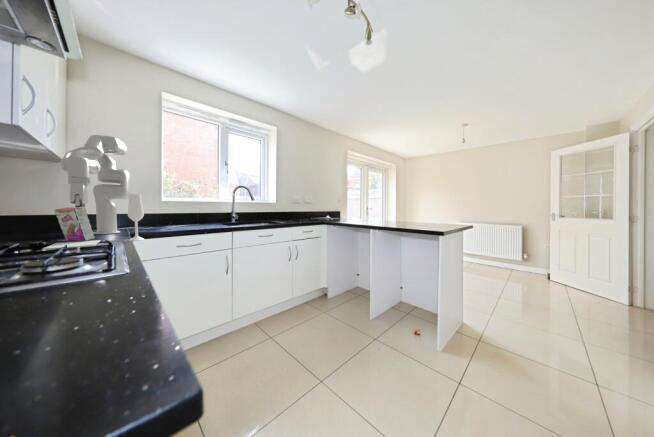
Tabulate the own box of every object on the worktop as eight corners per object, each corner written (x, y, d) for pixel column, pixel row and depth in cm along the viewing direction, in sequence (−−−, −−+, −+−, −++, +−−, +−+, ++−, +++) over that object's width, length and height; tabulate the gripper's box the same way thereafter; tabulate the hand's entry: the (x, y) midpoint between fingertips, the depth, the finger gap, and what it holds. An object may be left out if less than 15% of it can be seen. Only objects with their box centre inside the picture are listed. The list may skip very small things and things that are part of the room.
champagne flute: (126, 240, 120) (124, 194, 118) (131, 239, 126) (129, 194, 125) (142, 240, 122) (140, 194, 121) (146, 238, 128) (145, 195, 127)
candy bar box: (65, 242, 115) (53, 209, 111) (76, 238, 120) (65, 207, 116) (85, 241, 114) (73, 208, 110) (95, 237, 119) (85, 206, 114)
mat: (56, 243, 109) (56, 242, 109) (100, 240, 119) (100, 240, 119) (42, 249, 95) (42, 248, 95) (94, 245, 104) (94, 244, 104)
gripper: (72, 182, 121) (73, 217, 122) (63, 179, 109) (65, 218, 110) (92, 183, 125) (93, 217, 126) (86, 180, 114) (88, 218, 114)
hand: (80, 217), depth 118 cm, fingers closed
